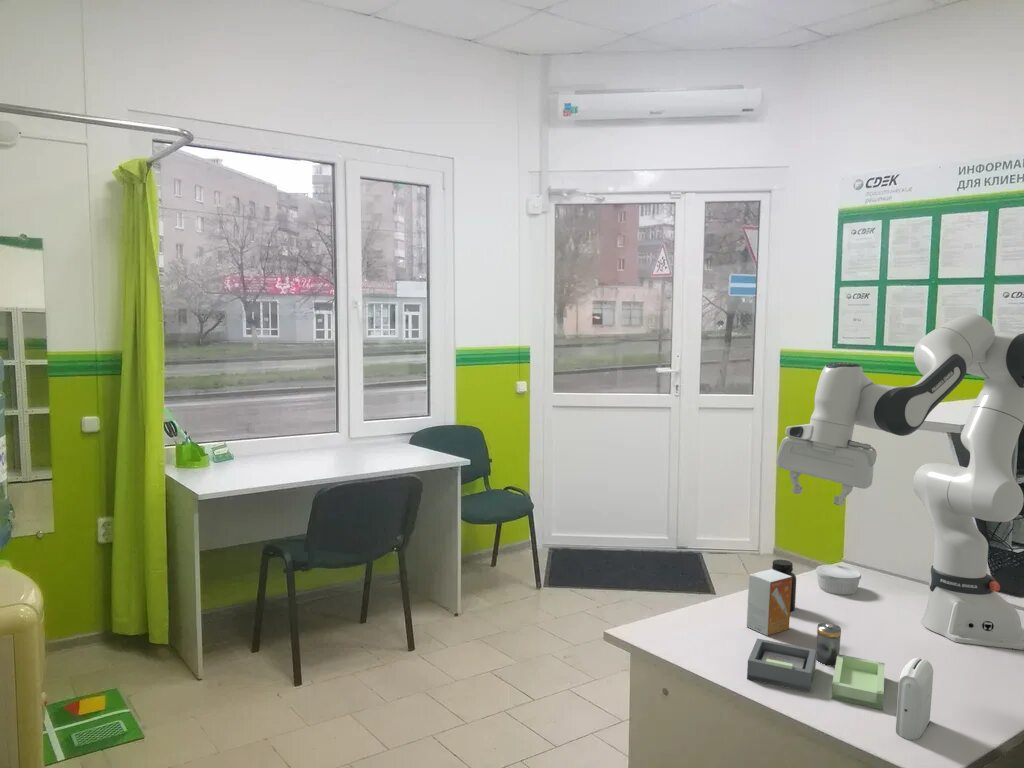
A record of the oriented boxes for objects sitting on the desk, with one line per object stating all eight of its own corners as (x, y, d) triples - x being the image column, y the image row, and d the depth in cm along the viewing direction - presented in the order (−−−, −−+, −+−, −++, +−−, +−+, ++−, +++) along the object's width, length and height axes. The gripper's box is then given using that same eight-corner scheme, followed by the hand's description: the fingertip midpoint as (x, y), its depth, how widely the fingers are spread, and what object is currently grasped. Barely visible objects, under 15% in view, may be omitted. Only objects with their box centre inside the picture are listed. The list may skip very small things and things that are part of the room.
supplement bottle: (771, 601, 202) (773, 556, 201) (798, 607, 198) (800, 561, 197) (762, 608, 197) (765, 562, 196) (790, 615, 193) (792, 568, 192)
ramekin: (866, 590, 212) (868, 571, 211) (849, 600, 204) (850, 580, 204) (826, 579, 220) (827, 561, 219) (808, 588, 212) (809, 570, 212)
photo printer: (918, 744, 136) (923, 675, 135) (892, 734, 139) (896, 668, 137) (932, 721, 144) (937, 656, 142) (907, 713, 146) (911, 649, 145)
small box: (767, 636, 180) (770, 582, 179) (745, 627, 185) (748, 573, 184) (790, 629, 184) (792, 575, 183) (767, 620, 190) (770, 568, 188)
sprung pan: (804, 662, 163) (804, 658, 163) (800, 678, 156) (800, 674, 156) (764, 654, 167) (765, 650, 167) (759, 669, 159) (759, 665, 159)
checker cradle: (815, 668, 164) (816, 647, 164) (809, 692, 153) (810, 670, 153) (756, 656, 169) (757, 635, 169) (746, 679, 159) (748, 657, 158)
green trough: (883, 677, 161) (884, 663, 160) (882, 709, 147) (883, 694, 147) (836, 667, 165) (837, 653, 164) (831, 698, 151) (832, 683, 151)
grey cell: (839, 659, 169) (842, 623, 168) (838, 667, 165) (840, 631, 164) (816, 654, 171) (818, 619, 170) (814, 663, 167) (816, 626, 166)
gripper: (884, 446, 162) (871, 511, 163) (792, 427, 177) (780, 487, 177) (872, 445, 158) (858, 512, 158) (779, 426, 173) (767, 487, 173)
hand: (816, 498), depth 168 cm, fingers open, 8 cm apart
